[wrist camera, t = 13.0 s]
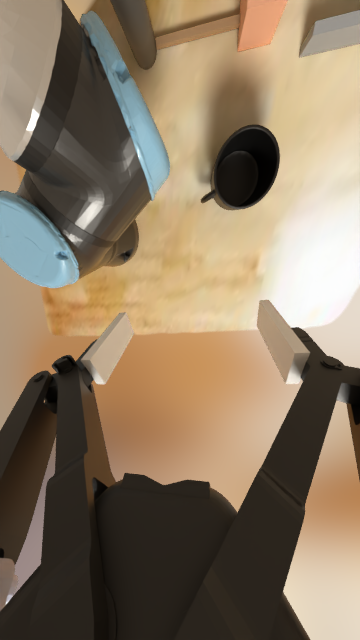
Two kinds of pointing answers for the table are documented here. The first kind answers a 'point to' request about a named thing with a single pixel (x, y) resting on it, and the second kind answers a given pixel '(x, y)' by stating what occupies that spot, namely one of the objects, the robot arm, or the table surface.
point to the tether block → (198, 27)
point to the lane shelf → (332, 34)
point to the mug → (244, 168)
